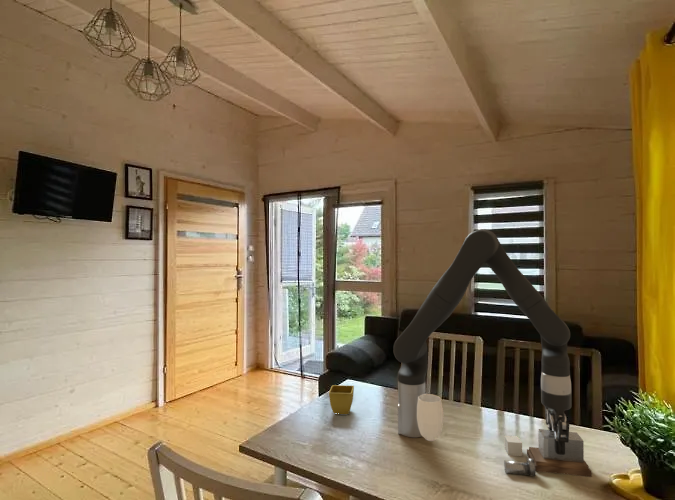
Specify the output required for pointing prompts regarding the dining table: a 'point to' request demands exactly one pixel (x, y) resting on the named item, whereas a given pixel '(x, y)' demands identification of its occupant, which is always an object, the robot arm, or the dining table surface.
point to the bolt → (520, 467)
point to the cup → (430, 416)
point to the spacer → (513, 445)
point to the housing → (572, 448)
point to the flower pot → (341, 398)
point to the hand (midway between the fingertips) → (556, 448)
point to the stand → (557, 464)
